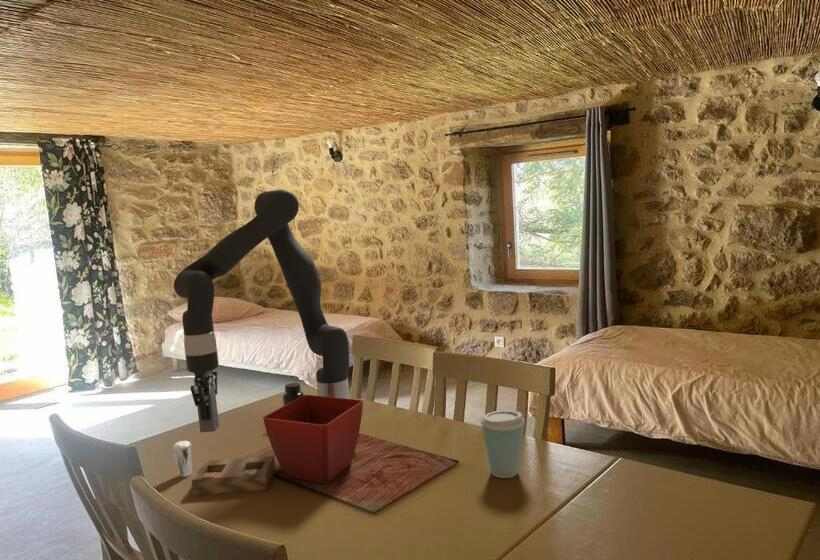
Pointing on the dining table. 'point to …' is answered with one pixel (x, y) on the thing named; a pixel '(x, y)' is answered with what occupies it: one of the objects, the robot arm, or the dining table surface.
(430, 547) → the dining table surface
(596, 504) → the dining table surface
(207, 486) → the port deck
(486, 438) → the disposable coffee cup
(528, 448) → the dining table surface
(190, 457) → the milkshake
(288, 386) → the supplement bottle
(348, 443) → the plant pot
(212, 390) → the plug
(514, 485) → the dining table surface
